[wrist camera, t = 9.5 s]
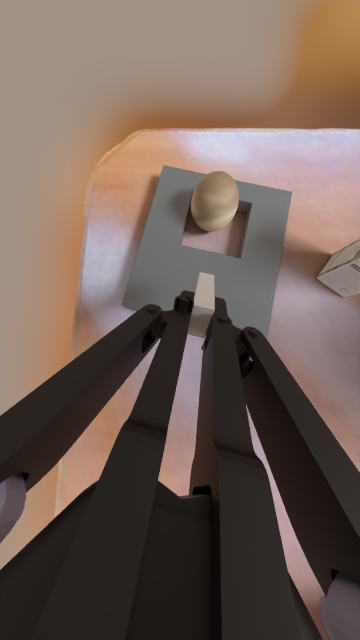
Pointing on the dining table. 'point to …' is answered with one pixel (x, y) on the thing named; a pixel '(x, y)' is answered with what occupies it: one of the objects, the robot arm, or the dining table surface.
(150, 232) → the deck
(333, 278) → the syrup box
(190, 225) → the dining table surface
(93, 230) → the dining table surface
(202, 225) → the tan round lump
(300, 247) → the dining table surface
